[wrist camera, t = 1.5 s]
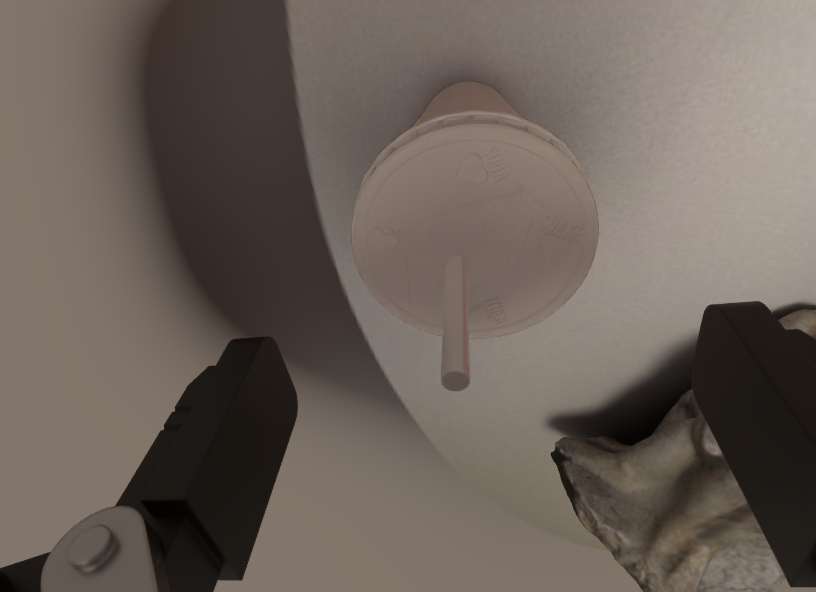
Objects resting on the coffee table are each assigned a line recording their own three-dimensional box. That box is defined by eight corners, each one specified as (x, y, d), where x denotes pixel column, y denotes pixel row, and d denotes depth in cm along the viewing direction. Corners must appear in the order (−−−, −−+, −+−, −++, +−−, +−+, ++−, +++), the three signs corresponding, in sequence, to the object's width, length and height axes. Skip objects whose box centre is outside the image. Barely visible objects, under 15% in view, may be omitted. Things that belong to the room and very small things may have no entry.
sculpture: (770, 182, 26) (972, 320, 25) (549, 412, 33) (700, 527, 32) (898, 203, 16) (1246, 436, 15) (540, 528, 23) (761, 701, 22)
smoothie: (358, 132, 21) (243, 363, 10) (468, 2, 18) (483, 120, 7) (466, 227, 23) (472, 504, 12) (580, 124, 20) (734, 369, 9)
